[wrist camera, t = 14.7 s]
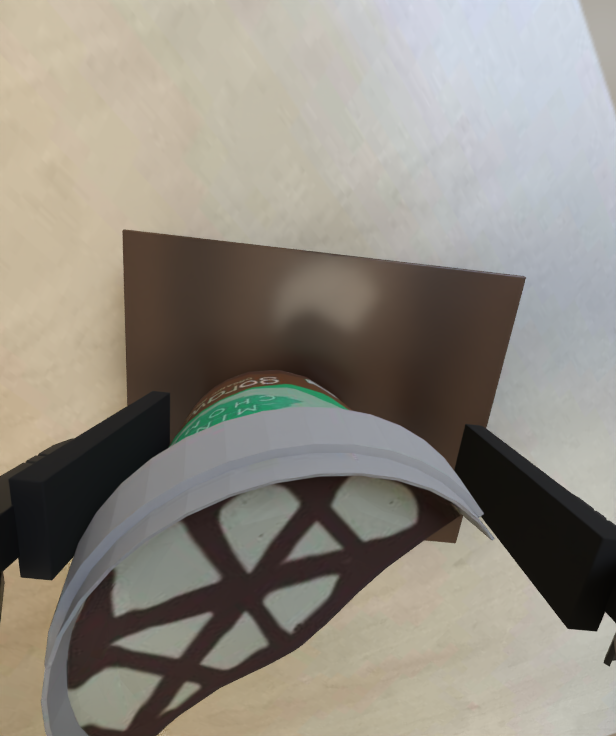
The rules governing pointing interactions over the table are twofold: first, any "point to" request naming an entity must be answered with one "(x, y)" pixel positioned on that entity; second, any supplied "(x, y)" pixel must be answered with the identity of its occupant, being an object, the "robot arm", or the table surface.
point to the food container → (235, 550)
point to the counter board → (319, 331)
